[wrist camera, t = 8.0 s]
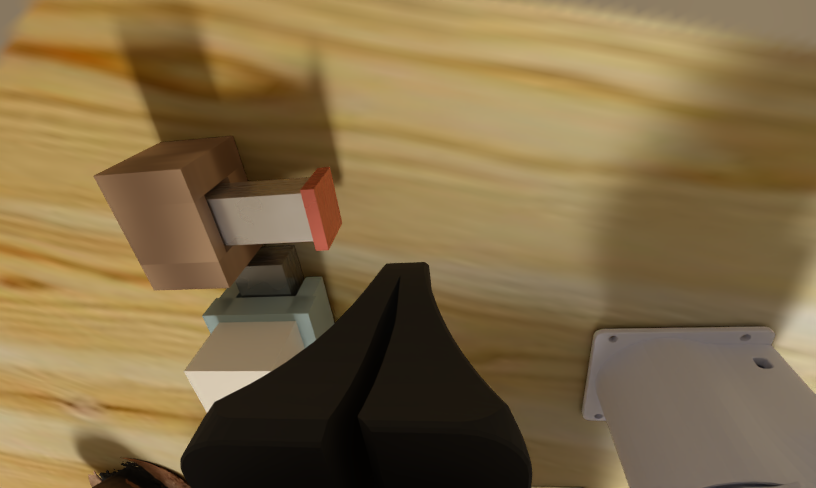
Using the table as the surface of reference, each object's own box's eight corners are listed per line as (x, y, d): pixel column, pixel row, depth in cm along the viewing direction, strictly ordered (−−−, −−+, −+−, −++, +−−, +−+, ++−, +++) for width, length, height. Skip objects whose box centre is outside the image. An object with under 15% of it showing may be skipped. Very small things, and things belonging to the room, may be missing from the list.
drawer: (329, 166, 19) (313, 189, 17) (342, 222, 21) (328, 249, 19) (220, 175, 20) (191, 197, 18) (239, 228, 22) (214, 255, 20)
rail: (294, 245, 24) (281, 265, 22) (348, 431, 32) (342, 455, 31) (245, 247, 24) (229, 267, 22) (312, 430, 33) (304, 454, 31)
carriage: (325, 276, 24) (284, 363, 19) (341, 339, 27) (310, 432, 21) (230, 279, 25) (164, 363, 19) (255, 340, 28) (203, 430, 22)
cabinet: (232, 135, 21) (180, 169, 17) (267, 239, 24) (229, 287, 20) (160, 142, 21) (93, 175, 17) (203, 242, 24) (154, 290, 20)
